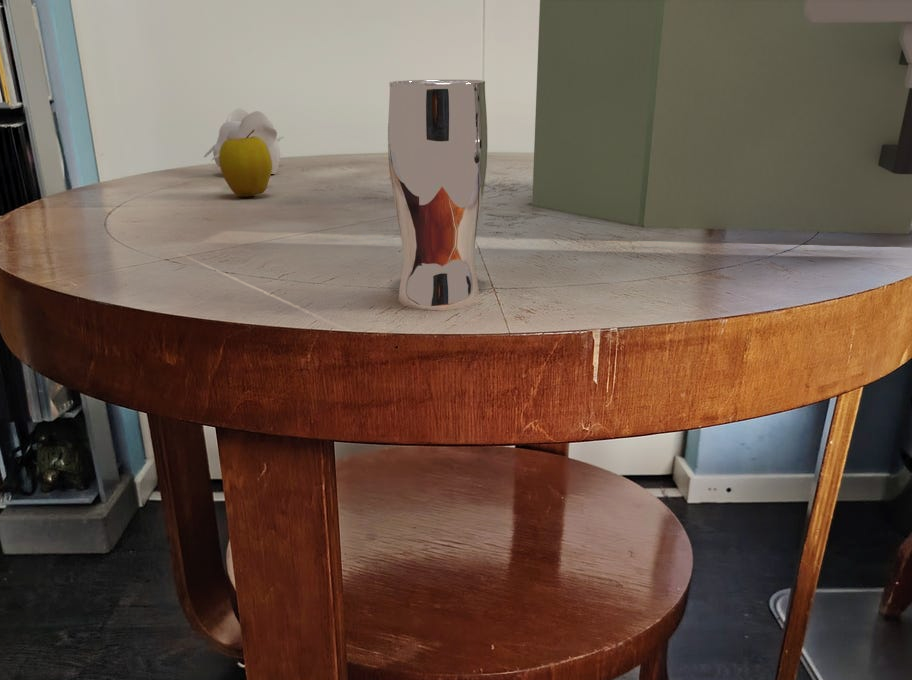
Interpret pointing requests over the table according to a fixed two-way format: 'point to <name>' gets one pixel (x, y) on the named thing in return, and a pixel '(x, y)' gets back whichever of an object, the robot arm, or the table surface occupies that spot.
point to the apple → (246, 165)
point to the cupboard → (596, 106)
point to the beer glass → (438, 187)
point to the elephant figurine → (242, 126)
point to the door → (779, 122)
